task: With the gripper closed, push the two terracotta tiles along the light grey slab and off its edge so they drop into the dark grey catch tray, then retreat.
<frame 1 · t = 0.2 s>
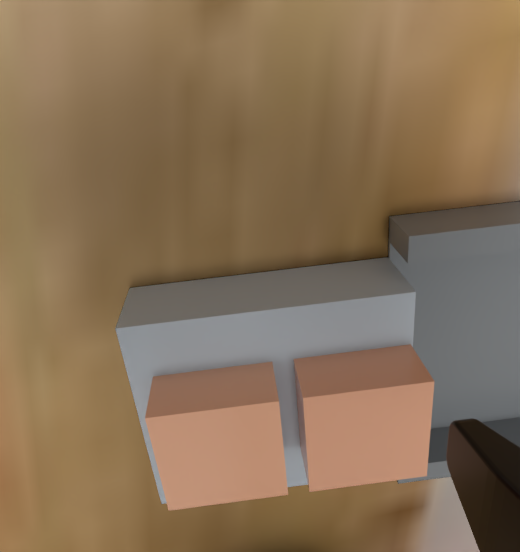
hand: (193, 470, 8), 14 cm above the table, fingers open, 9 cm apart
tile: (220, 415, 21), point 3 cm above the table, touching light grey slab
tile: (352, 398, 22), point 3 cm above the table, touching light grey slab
light grey slab: (269, 361, 25), on the table
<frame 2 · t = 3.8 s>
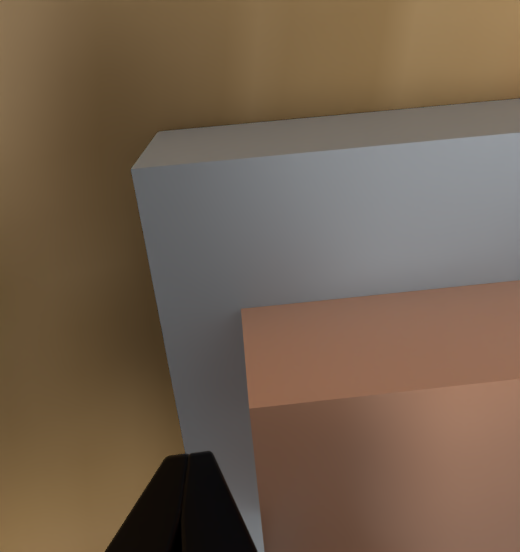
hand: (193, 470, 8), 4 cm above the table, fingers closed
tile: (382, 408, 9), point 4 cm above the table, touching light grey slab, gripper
light grey slab: (422, 308, 13), on the table
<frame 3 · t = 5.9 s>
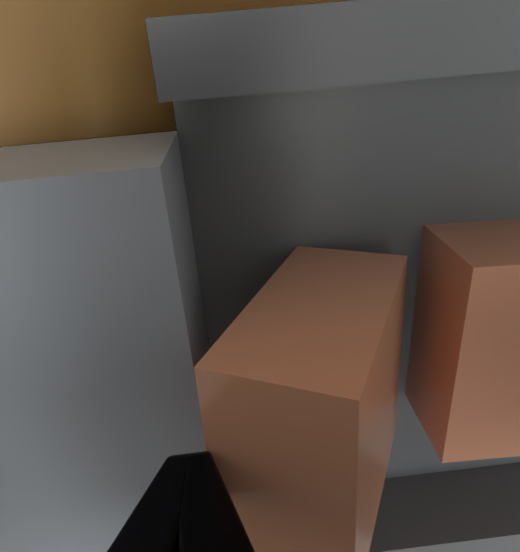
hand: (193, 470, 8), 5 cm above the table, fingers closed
tray: (511, 298, 13), on the table
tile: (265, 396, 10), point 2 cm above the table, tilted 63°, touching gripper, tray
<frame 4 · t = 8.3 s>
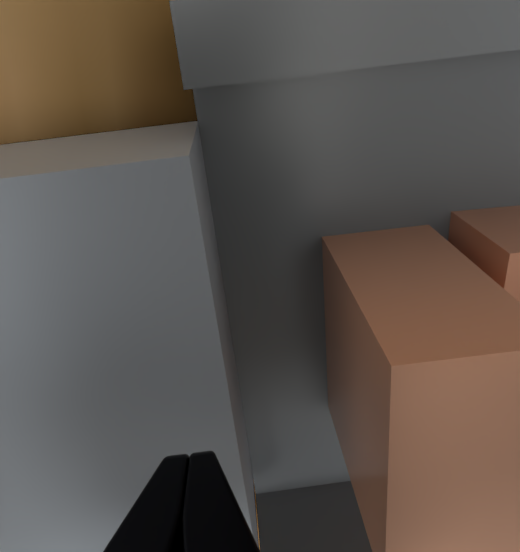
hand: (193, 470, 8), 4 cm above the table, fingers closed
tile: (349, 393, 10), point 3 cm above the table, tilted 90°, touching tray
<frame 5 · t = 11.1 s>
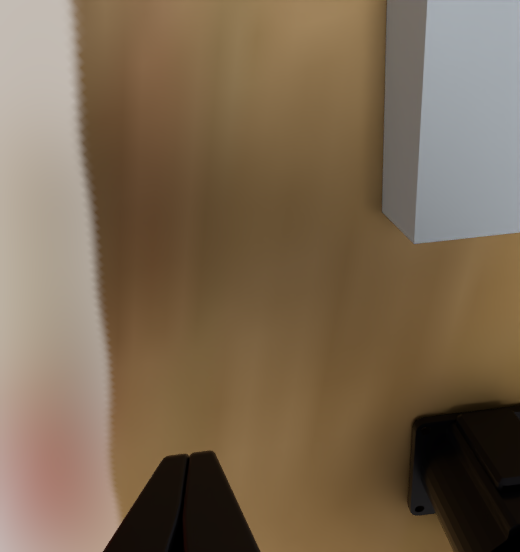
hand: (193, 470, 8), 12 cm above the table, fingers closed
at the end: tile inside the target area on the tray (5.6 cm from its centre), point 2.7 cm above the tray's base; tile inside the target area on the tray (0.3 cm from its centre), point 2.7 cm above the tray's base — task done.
